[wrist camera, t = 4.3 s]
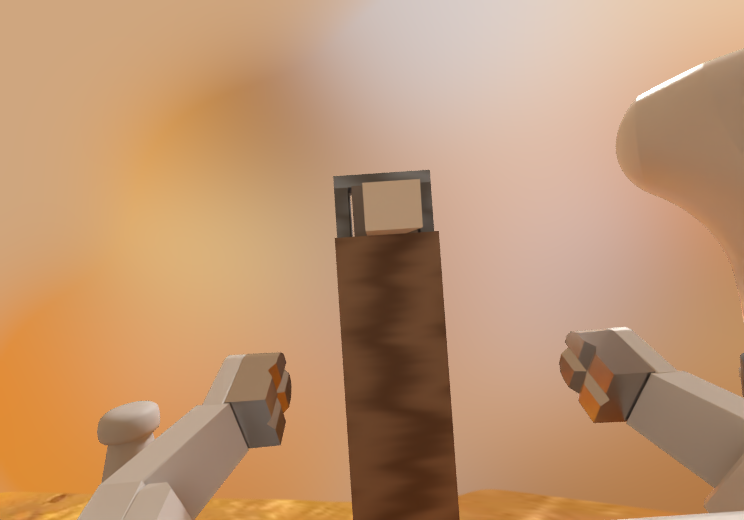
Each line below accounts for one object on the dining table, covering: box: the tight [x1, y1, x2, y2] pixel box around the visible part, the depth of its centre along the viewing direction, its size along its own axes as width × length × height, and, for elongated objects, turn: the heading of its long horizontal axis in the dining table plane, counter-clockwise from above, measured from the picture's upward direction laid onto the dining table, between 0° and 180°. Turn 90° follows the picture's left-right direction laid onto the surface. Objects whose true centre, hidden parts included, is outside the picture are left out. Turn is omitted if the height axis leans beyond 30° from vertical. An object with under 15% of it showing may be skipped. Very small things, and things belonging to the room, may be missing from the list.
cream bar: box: [351, 179, 423, 237], centre depth 23 cm, size 5×13×4 cm, turn 0°
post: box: [334, 170, 459, 520], centre depth 27 cm, size 8×5×31 cm, turn 90°
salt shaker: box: [97, 401, 160, 483], centre depth 28 cm, size 6×6×13 cm
